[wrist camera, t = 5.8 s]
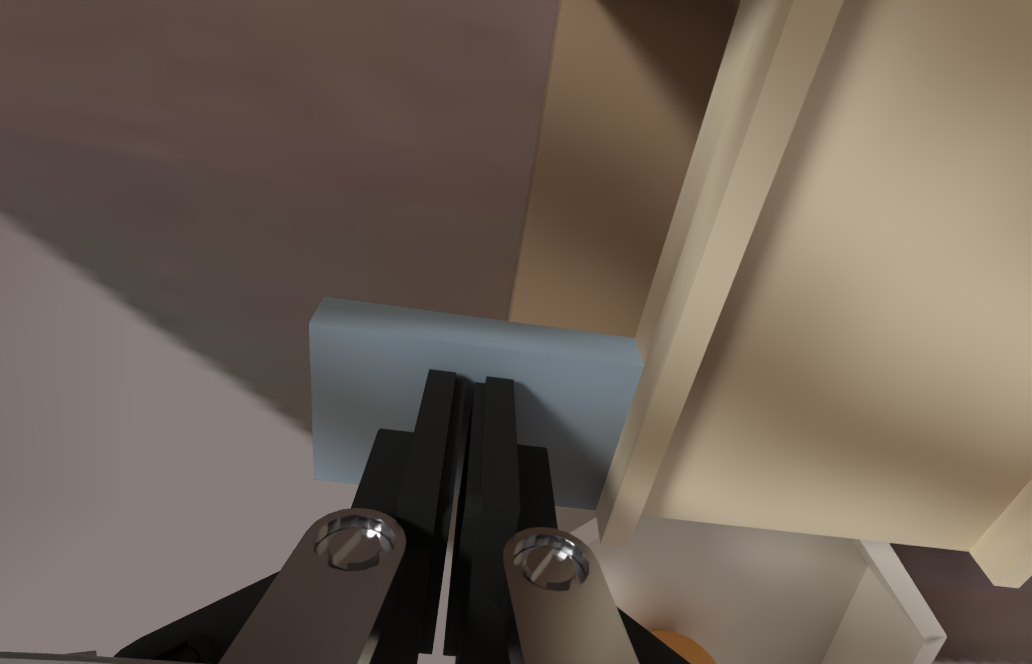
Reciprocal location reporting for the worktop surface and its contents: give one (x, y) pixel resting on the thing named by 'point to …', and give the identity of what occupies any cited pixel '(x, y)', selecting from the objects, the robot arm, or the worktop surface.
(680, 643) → the ball
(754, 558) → the octagonal cream dish
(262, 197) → the worktop surface
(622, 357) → the lever
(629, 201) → the lever stand
